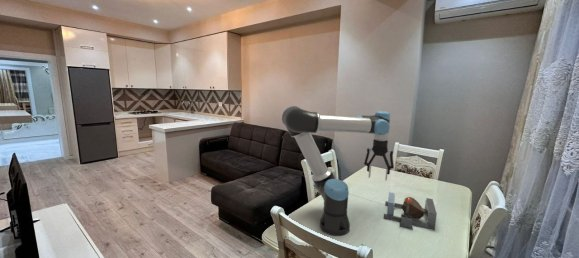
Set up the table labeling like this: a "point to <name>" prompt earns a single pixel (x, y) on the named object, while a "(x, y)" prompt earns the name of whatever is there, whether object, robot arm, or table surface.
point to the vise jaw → (391, 204)
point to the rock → (413, 209)
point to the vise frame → (408, 222)
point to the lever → (408, 201)
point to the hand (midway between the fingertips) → (377, 178)
